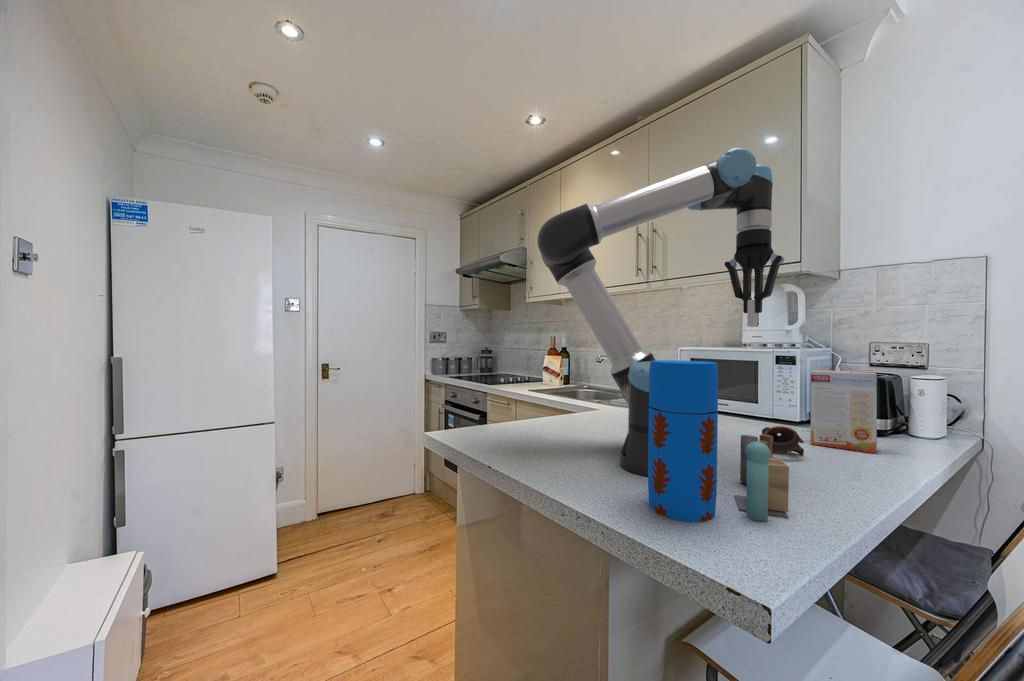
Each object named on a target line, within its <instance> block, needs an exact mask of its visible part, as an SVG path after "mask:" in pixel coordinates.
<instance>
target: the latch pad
mask: <svg viewBox="0 0 1024 681" xmlns="http://www.w3.org/2000/svg"><path fill="white" fill-rule="evenodd" d="M733 497H734V500H735V502H736V506H737V508H739V509H738V512H745V513H746V498H747V495H739V494H734V495H733ZM771 515H774V516H773V517H778V516H780V517H779V518H786V517H787V518H786V519H789V515H788V514H787V512H783V511H775V510H768V516H771Z"/></svg>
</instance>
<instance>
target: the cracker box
mask: <svg viewBox="0 0 1024 681" xmlns="http://www.w3.org/2000/svg"><path fill="white" fill-rule="evenodd" d="M877 381H878V375H877V372H874V371H873V372H870V371H853V370H852V371H849V370H847V371H845V370H826V369H825V370H823V369H818V370H817V369H813V370H811V371H810V445H812V444H814V445H813V446H818V445H821V447H825V446H828V447H827V448H833V447H836V448H835V449H841V448H842V450H848V449H850V451H854V450H856V452H861V451H862V452H861V453H868V452H869V453H870V454H877V449H878V448H877V447H878V446H877V441H878V440H877V439H878V438H877V437H878V432H877V430H878V429H877V423H878V422H877V417H878V416H877V415H878V408H877V406H878V403H877V400H878V398H877V397H878V396H877V394H878V393H877V392H878V391H877V390H878V388H877V387H878V385H877V384H878V382H877Z"/></svg>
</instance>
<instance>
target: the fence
mask: <svg viewBox="0 0 1024 681" xmlns="http://www.w3.org/2000/svg"><path fill="white" fill-rule="evenodd" d="M758 442H761V443H764V444H765V445H766V446H767V447H768V448H769V449H770V452H771V457H770V458H773V454H772V444H773V436H772V435H765V434H762V433H761V434H760V435H759V440H758Z"/></svg>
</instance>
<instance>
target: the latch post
mask: <svg viewBox="0 0 1024 681" xmlns="http://www.w3.org/2000/svg"><path fill="white" fill-rule="evenodd" d="M745 455H746V457H747V484H746V496H747V498H746V512H745V514H746V515H745V516H746V518H748V519H749V518H750V520H752V521H756V522H760V521H761V522H762V523H763V521H765V522H767V521H768V520H769V519H768V518H769V517H768V516H769V515H768V464H769V459H770V457H771V452H770V449H769V448H768V447H767V446H766V445H765V444H764V443H761V442H751V443H749V444H748V445H747V446H746V449H745Z"/></svg>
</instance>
